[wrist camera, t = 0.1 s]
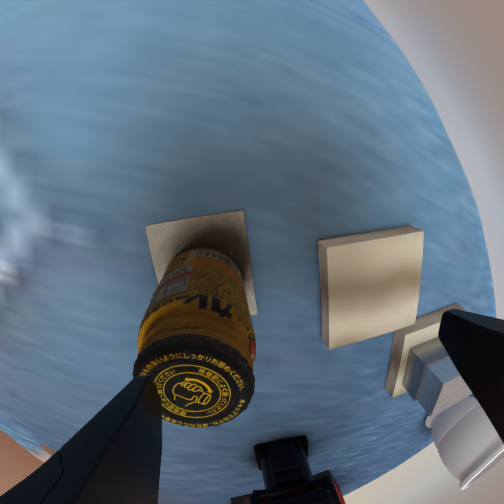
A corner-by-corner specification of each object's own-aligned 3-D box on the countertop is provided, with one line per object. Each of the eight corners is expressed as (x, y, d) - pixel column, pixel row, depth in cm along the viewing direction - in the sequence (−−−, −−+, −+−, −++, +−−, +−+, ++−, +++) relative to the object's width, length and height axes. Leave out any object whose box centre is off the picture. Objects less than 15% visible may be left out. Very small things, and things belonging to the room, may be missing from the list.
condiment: (170, 325, 23) (144, 441, 11) (145, 225, 20) (71, 294, 9) (257, 313, 23) (289, 428, 12) (243, 209, 21) (275, 265, 9)
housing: (448, 363, 26) (476, 391, 21) (401, 384, 26) (428, 419, 20) (458, 327, 25) (491, 355, 19) (409, 347, 24) (442, 383, 19)
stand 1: (404, 314, 25) (414, 323, 23) (321, 336, 25) (329, 349, 23) (410, 225, 23) (423, 230, 21) (317, 240, 22) (326, 247, 20)
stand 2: (441, 363, 29) (449, 371, 27) (384, 387, 28) (392, 397, 26) (455, 303, 26) (466, 310, 24) (395, 325, 26) (405, 335, 24)
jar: (442, 426, 35) (480, 479, 21) (407, 432, 33) (448, 498, 19) (477, 380, 33) (525, 432, 18) (447, 381, 31) (503, 447, 16)
